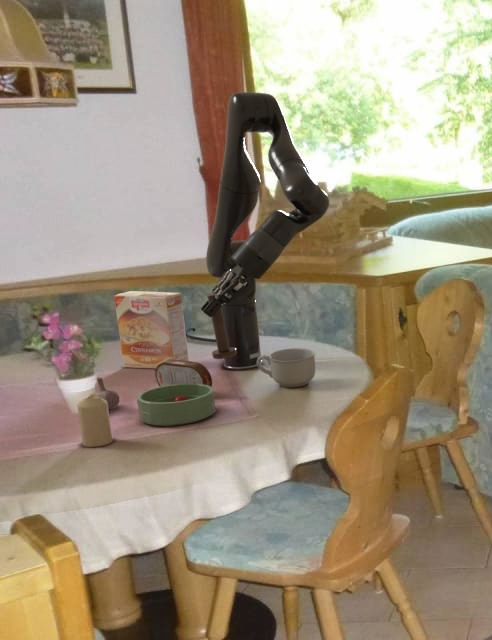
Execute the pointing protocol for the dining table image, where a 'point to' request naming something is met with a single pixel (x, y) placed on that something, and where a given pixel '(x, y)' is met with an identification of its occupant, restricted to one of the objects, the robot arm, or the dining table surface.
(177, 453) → the dining table surface
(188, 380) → the tin
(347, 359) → the dining table surface
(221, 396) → the dining table surface
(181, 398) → the berry
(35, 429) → the dining table surface
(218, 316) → the muddler
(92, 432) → the candle
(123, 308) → the coffeecake box
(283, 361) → the teacup
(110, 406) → the garlic bulb
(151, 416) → the bowl
